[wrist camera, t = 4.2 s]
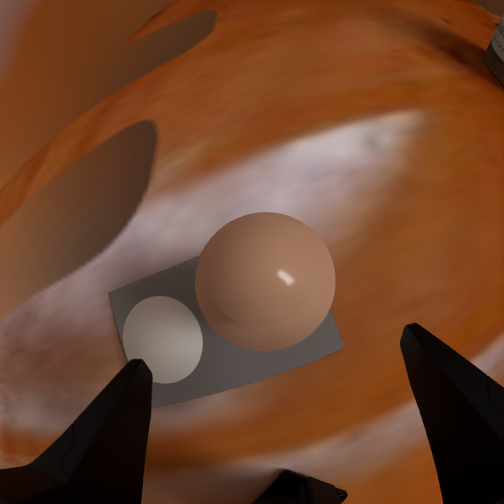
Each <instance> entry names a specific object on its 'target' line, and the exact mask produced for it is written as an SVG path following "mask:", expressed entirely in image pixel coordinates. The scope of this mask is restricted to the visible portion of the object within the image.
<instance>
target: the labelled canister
mask: <svg viewBox="0 0 504 504" xmlns="http://www.w3.org/2000/svg"><path fill="white" fill-rule="evenodd" d="M484 60H485V62H486V64H487V66H488V67H489V69H490V70H491V71H492V73H493V74H494V75H495V77H496V78H497V79H498V80H499V81H500V82H501V83H502V84H503V86H504V16H503V18H502V20H501V22H500V24H499V26H498V28H497V30H496V32H495V34H494V36H493V38H492V40H491V42H490V45H489V46H488V48H487V50H486V52H485V54H484Z"/></svg>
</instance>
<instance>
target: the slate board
mask: <svg viewBox="0 0 504 504" xmlns="http://www.w3.org/2000/svg"><path fill="white" fill-rule="evenodd" d="M199 258H200V257H197V258H195V259H192V260H190V261H187V262H184V263H182V264H179V265H177V266H174V267H172V268H169V269H167V270H164V271H162V272H159V273H157V274H154V275H152V276H149V277H147V278H144V279H142V280H139V281H137V282H134V283H132V284H129V285H127V286H124V287H122V288H119V289H117V290H114V291H112V292H109V295H110V299H111V303H112V308H113V312H114V316H115V320H116V324H117V328H118V331H119V335H120V339H121V342H122V346H123V349H124V352H125V355H126V359H127V362H129V361H130V360H131V359H143V360H144V361H145V363H146V364H147V366H148V367H149V369H150V370H151V372H152V375H153V385H152V406H151V408H153V407H158V406H163V405H168V404H173V403H178V402H182V401H187V400H191V399H195V398H199V397H203V396H207V395H211V394H215V393H219V392H222V391H226V390H229V389H233V388H236V387H240V386H243V385H246V384H249V383H253V382H256V381H259V380H262V379H265V378H268V377H271V376H274V375H277V374H280V373H282V372H285V371H288V370H291V369H293V368H296V367H299V366H301V365H304V364H306V363H309V362H312V361H314V360H317V359H319V358H321V357H324V356H326V355H329V354H331V353H333V352H336V351H338V350H340V349H343V348H344V345H343V343H342V340H341V337H340V335H339V332H338V329H337V327H336V324H335V321H334V319H333V316H332V313H331V311H330V309H329V311H328V313H327V315H326V317H325V318H324V320H323V321H322V323H321V324H320V325H319V326H318V328H317V329H316V330H315V331H314V332H313V333H312V334H310V335H309V336H308V337H307V338H305V339H304V340H302V341H301V342H299V343H297V344H295V345H293V346H290V347H287V348H284V349H281V350H275V351H253V350H249V349H244V348H242V347H239V346H236V345H234V344H232V343H230V342H229V341H227V340H225V339H224V338H223V337H221V336H220V335H219V334H218V333H217V332H216V331H215V330H214V329H213V328H212V327H211V326H210V325H209V323H208V322H207V321H206V319H205V317H204V316H203V314H202V312H201V309H200V307H199V304H198V301H197V297H196V290H195V275H196V269H197V265H198V261H199Z"/></svg>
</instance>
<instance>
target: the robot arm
mask: <svg viewBox="0 0 504 504" xmlns="http://www.w3.org/2000/svg"><path fill="white" fill-rule="evenodd" d="M400 347H401V351H402V355H403V358H404V362H405V366H406V370H407V374H408V378H409V382H410V385H411V388H412V391H413V394H414V397H415V400H416V403H417V405H418V408H419V411H420V415H421V418H422V421H423V424H424V427H425V430H426V434H427V437H428V441H429V444H430V448H431V451H432V455H433V459H434V463H435V467H436V471H437V475H438V480H439V484H440V489H441V494H442V499H443V504H504V387H502V386H501V385H500V384H498V383H497V382H496V381H494V380H493V379H492V378H490V377H489V376H487V375H486V374H485V373H484V372H483V371H481V370H480V369H479V368H477V367H476V366H475V365H473V364H472V363H471V362H469V361H468V360H467V359H465V358H464V357H463V356H461V355H460V354H459V353H457V352H456V351H455V350H453V349H452V348H451V347H449V346H448V345H447V344H445V343H444V342H442V341H441V340H440V339H438V338H437V337H436V336H434V335H433V334H431V333H430V332H429V331H427V330H426V329H424V328H423V327H422V326H420V325H419V324H417V323H412V324H408V325H406V326H405V327H404V330H403V333H402V337H401V340H400ZM152 385H153V375H152V372H151V370H150V369H149V367H148V366H147V364H146V363H145V361H144V360H143V359H131V360H130V361H129V362H128V363H127V364H126V365H125V366H124V367H123V368H122V370H121V371H120V372H119V373H118V374H117V375H116V376H115V377H114V378H113V379H112V380H111V381H110V383H109V384H108V385H107V386H106V387H105V388H104V389H103V390H102V391H101V392H100V393H99V395H98V396H97V397H96V398H95V399H94V400H93V401H92V402H91V403H90V404H89V405H88V407H87V408H86V409H85V410H84V411H83V412H82V413H81V414H80V415H79V416H78V418H77V419H76V420H75V421H74V422H73V423H72V424H71V425H70V426H69V427H68V429H67V430H66V431H65V432H64V433H63V434H62V435H61V436H60V437H59V438H58V439H57V440H56V441H55V442H54V443H53V444H52V445H51V446H50V447H48V448H47V449H46V450H45V451H44V452H43V453H42V454H41V455H40V456H39V457H37V458H36V459H35V460H34V461H33V462H31V463H30V464H28V465H25V466H21V467H14V468H8V469H0V504H141V499H142V486H143V475H144V465H145V456H146V448H147V440H148V433H149V426H150V418H151V406H152ZM284 475H289V476H288V477H285V476H284ZM340 495H343V496H340ZM347 496H348V494H347V492H346V491H344V490H341V489H338V488H335V486H334V485H331V484H328V483H326V482H323V481H320V480H317V479H315V478H312V477H304V476H302V475H299V474H297V473H295V472H292V471H290V470H284V471H282V472H281V473H280V474H279V476H278V477H277V478H276V479H275V480H274V481H273V482H272V483H271V484H270V485H269V487H268V488H267V489H266V490H265V491H264V492H263V493H262V494H261V495H260V496H259V497H258V498H257V499H256V500H255V501H254V502H253V503H252V504H341V503H342V502H343V501H344V500H345V499H346V498H347Z"/></svg>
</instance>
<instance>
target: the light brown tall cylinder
mask: <svg viewBox="0 0 504 504" xmlns="http://www.w3.org/2000/svg"><path fill="white" fill-rule="evenodd" d="M195 290H196V297H197V301H198V304H199V307H200V309H201V312H202V314H203V316H204V317H205V319H206V321H207V322H208V323H209V325H210V326H211V327H212V328H213V329H214V330H215V331H216V332H217V333H218V334H219V335H220V336H221V337H223V338H224V339H225V340H227V341H229V342H230V343H232V344H234V345H236V346H239V347H242V348H244V349H249V350H253V351H275V350H281V349H284V348H287V347H290V346H293V345H295V344H297V343H299V342H301V341H302V340H304V339H305V338H307V337H308V336H309V335H310V334H312V333H313V332H314V331H315V330H316V329H317V328H318V326H319V325H320V324H321V323H322V321H323V320H324V318H325V317H326V315H327V313H328V311H329V309H330V307H331V304H332V301H333V298H334V292H335V269H334V265H333V261H332V258H331V256H330V253H329V251H328V249H327V247H326V246H325V244H324V243H323V241H322V240H321V238H320V237H319V236H318V235H317V234H316V233H315V232H314V231H313V230H312V229H311V228H309V227H308V226H307V225H305V224H304V223H302V222H301V221H299V220H297V219H295V218H292V217H290V216H286V215H283V214H278V213H268V212H263V213H254V214H249V215H245V216H242V217H240V218H237V219H235V220H233V221H231V222H230V223H228V224H226V225H225V226H223V227H222V228H221V229H220V230H219V231H217V232H216V233H215V235H214V236H213V237H212V238H211V239H210V240H209V242H208V243H207V244H206V246H205V248H204V250H203V251H202V253H201V256H200V258H199V261H198V265H197V269H196V275H195Z"/></svg>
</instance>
